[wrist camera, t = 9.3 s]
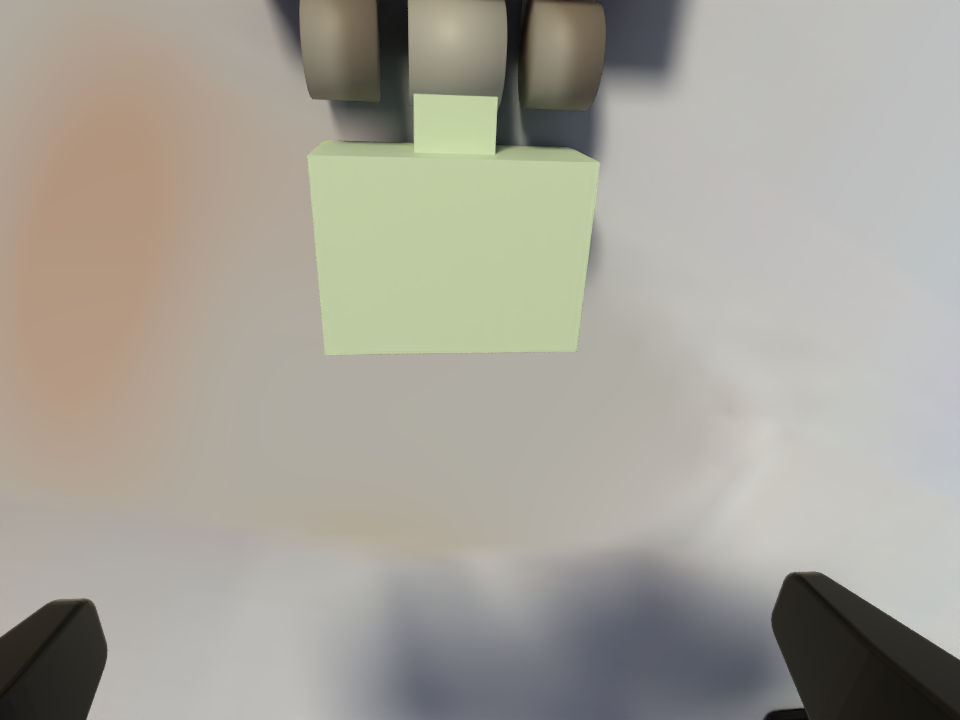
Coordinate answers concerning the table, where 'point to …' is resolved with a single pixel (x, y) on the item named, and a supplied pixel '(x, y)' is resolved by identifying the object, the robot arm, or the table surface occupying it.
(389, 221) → the hinge leaf
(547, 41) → the hinge base
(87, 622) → the robot arm
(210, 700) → the table surface
